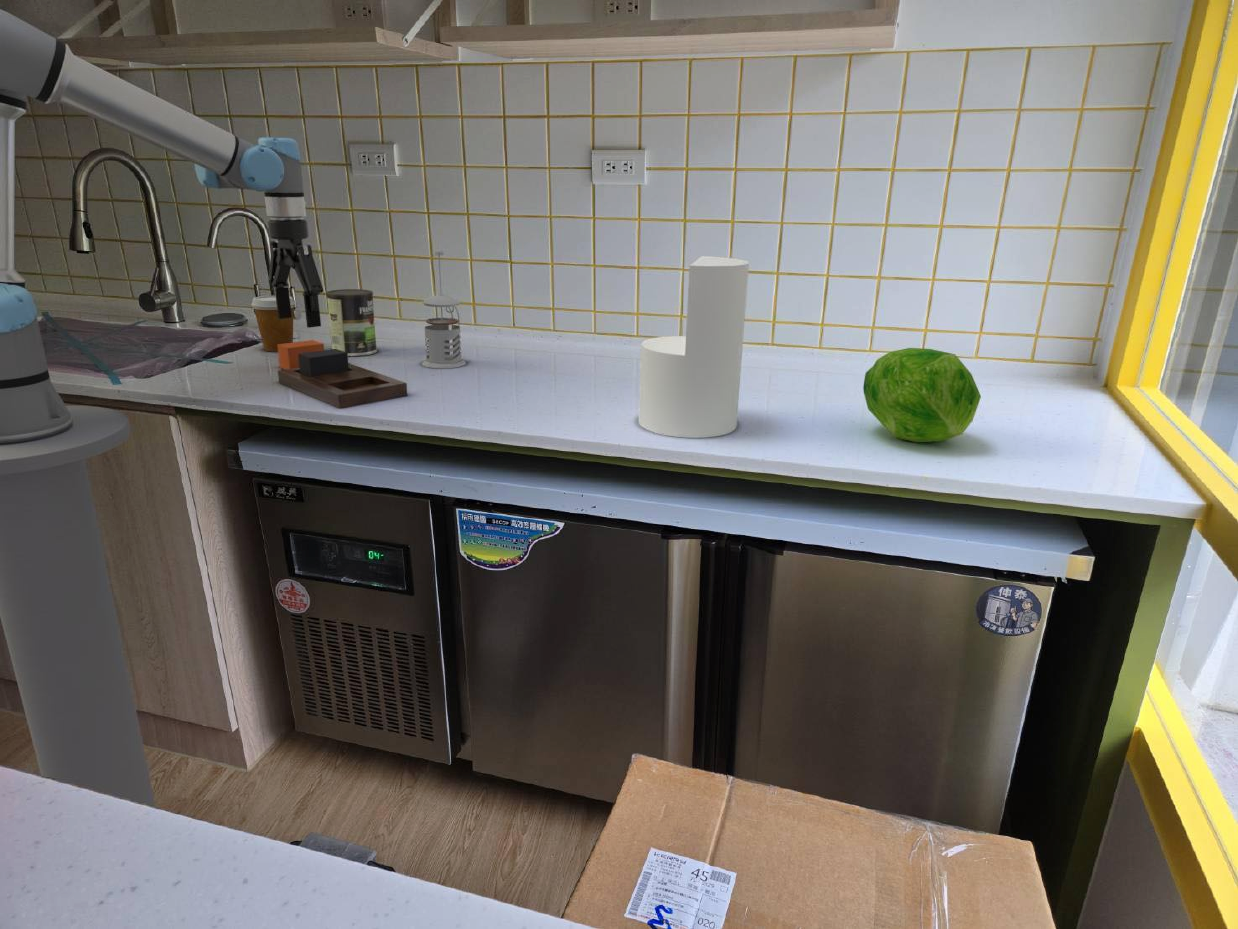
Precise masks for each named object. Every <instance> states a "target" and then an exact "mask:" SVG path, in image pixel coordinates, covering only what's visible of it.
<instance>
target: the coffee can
mask: <svg viewBox="0 0 1238 929" xmlns="http://www.w3.org/2000/svg"><path fill="white" fill-rule="evenodd" d="M373 295H374V293H373V291H372V290H370V289H359V288H346V289H345V288H343V289H341V288H340V289H333V290H327V291H326V292H325V296H326V300H327V312H328V324H329V332H330V345H331V349H338V350H341V351H344V352H347V354H348V357H363V356H370V355H373V354H377V352H378V350H377V349H378V348H377V338H376V326H375V325H376V323H375V310H374V296H373Z"/></svg>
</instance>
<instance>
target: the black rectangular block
mask: <svg viewBox="0 0 1238 929" xmlns="http://www.w3.org/2000/svg"><path fill="white" fill-rule="evenodd" d="M298 358H299V367H300V374H302V375H305V376H307V377H313V376H319V375H326V374H332V373H339V372H345V371H349V365H348V363H349V356H348V354H347V352H344V351H341V350H338V349H332V348H331V349H330V348H329V349H324V350H322V351H315V352H307V353H300V354H298Z"/></svg>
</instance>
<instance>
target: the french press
mask: <svg viewBox="0 0 1238 929" xmlns="http://www.w3.org/2000/svg"><path fill="white" fill-rule="evenodd" d="M434 255H435V256H438V271H439V272H438V274H439V292H440V293H439V294H437V295H431V296H429V297H426V298H425V299H424V300H423V301H422V304H423V305H424V306H426V307H432V308H440V313H441V314H440V315H441V317H431V318H428V319H426V320H425V323H426V324H428V325H426V326H424V338H425V339H424V343H425V358H426V359H425V360H423V362H422V363H421V365H422V367H426V368H432V369H454V368H461V367H464V366H465V365H467V362H466V361H465V360H464V359H463V358H462V352H461V350H462V346H461V343H462V341H461V340H460V339H461V335H460V333H461V326H460V324H461V323H460V322H461V321H460V313H459V310H458V309H457V308H458V307H457V306H460V304H461V301H460V300H458V299H457V298H455V297H453V296H451V295H448V294H443V293H442V279H441V277H442V276H441V275H442V274H441V257H440V256H444V251H443V250H442V249H440V248H437V249H436V250H434ZM451 307H452V309H451ZM443 308H445V311H446V313H448V314H449V313H450V316H451V317H443ZM448 310H449V311H448ZM454 310H456V314H457V318H455V317H454V316H453V313H454ZM457 323H458V324H457ZM450 326H451V328H450ZM450 341H452V342H450Z"/></svg>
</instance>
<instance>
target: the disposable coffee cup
mask: <svg viewBox="0 0 1238 929" xmlns="http://www.w3.org/2000/svg"><path fill="white" fill-rule="evenodd" d="M289 297H290V305H291V314H292V318H283V319H279V318H278V311H277V303H276V295H263V296H261V295H260V296H256V297H253V298H252V303H251V304H250V305H251V307H252V309H253V310H254V314H255V319H256V322H257V326H258V330H259V334H260V338H261V341H262V346H263V349H264V351H266V352H271V353H272V352H273V353H274V352H276V353H278V346H277V344H285V343H293V342H294V314H295V312H294V311H295V310H294V308H295V305H296V302H295V301H294V298H293V297H292V296H291V295H289Z"/></svg>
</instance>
